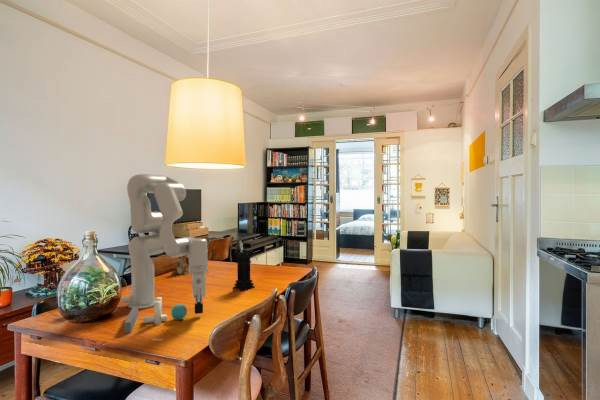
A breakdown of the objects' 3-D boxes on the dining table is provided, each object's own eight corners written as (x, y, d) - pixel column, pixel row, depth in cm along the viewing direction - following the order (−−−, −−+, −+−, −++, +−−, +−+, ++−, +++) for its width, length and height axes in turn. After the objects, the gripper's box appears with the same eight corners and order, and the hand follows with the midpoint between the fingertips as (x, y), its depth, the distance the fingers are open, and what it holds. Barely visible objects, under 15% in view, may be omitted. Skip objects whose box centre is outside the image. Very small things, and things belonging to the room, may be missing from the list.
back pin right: (154, 324, 127) (153, 303, 127) (154, 322, 130) (154, 301, 130) (160, 324, 128) (160, 302, 128) (161, 321, 130) (161, 300, 130)
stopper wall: (124, 333, 119) (124, 322, 119) (133, 316, 137) (132, 306, 136) (130, 332, 120) (130, 322, 120) (138, 315, 137) (138, 306, 137)
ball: (186, 304, 131) (188, 318, 131) (184, 300, 137) (187, 314, 137) (170, 308, 129) (173, 323, 129) (169, 305, 134) (172, 319, 135)
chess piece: (244, 285, 183) (244, 249, 183) (254, 287, 178) (254, 250, 178) (233, 288, 177) (233, 251, 177) (243, 290, 172) (242, 252, 172)
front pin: (166, 321, 131) (143, 324, 128) (167, 319, 133) (144, 321, 131) (166, 315, 131) (143, 318, 128) (167, 313, 133) (144, 315, 131)
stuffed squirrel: (170, 274, 209) (170, 254, 209) (184, 269, 222) (184, 250, 222) (183, 275, 206) (183, 254, 206) (197, 270, 219) (196, 251, 219)
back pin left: (155, 320, 132) (155, 299, 132) (156, 318, 134) (155, 297, 134) (161, 319, 133) (161, 298, 133) (162, 317, 135) (162, 296, 135)
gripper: (208, 271, 130) (209, 318, 130) (206, 264, 144) (207, 306, 144) (188, 273, 128) (189, 320, 128) (188, 265, 142) (189, 308, 142)
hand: (198, 312), depth 136 cm, fingers closed
